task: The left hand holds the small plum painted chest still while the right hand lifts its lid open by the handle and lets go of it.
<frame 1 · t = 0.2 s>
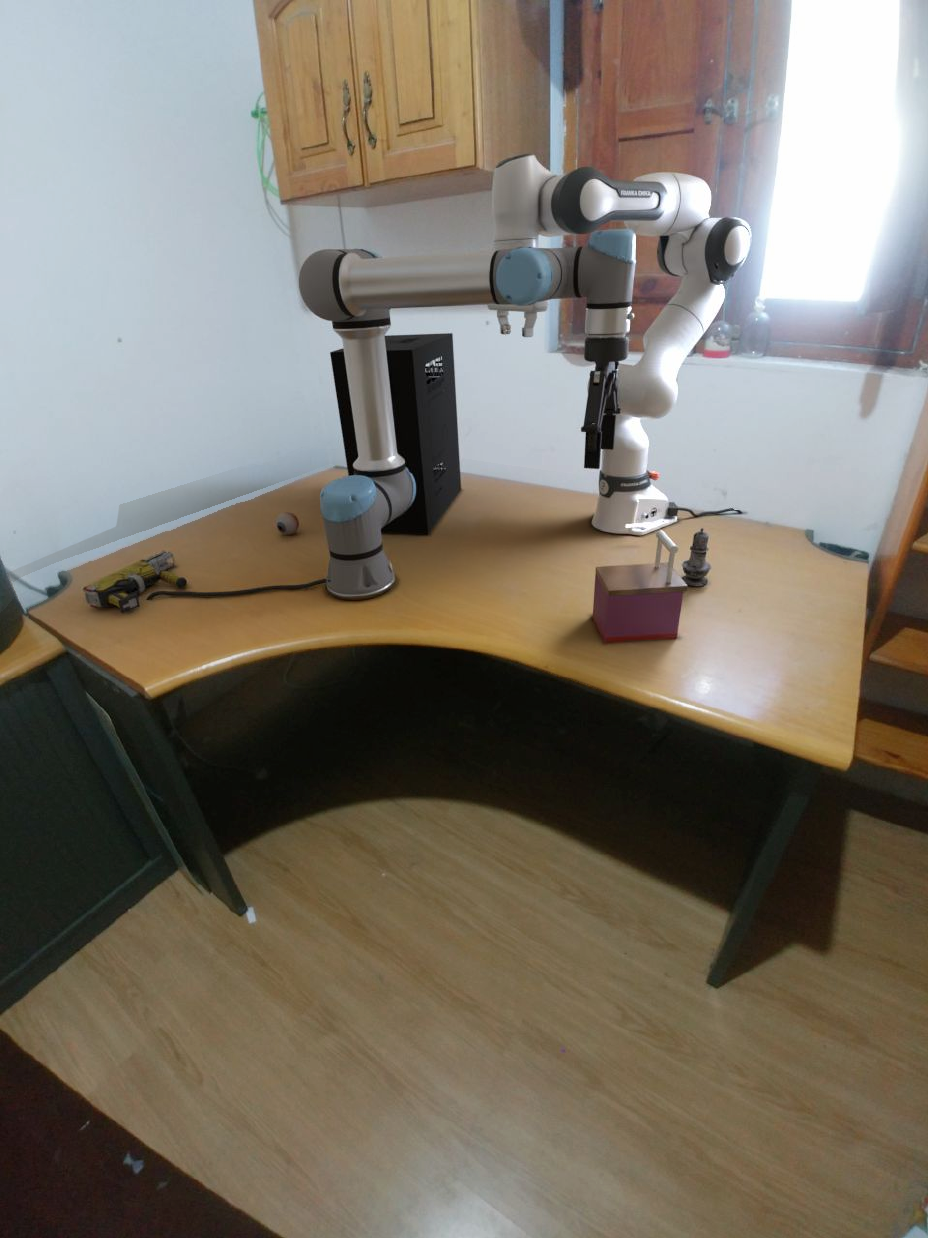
left hand: (599, 458, 115), 28 cm above the table, tool pointing down, fingers open, 13 cm apart
right hand: (516, 335, 125), 48 cm above the table, tool pointing down, fingers open, 8 cm apart
pewter chess piece: (694, 581, 129), on the table
chest: (633, 626, 114), on the table
eyeball: (289, 534, 165), on the table
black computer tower: (413, 509, 178), on the table
lid: (641, 560, 108), point 14 cm above the table, hinge at 0.0°
toy gun: (152, 590, 139), on the table
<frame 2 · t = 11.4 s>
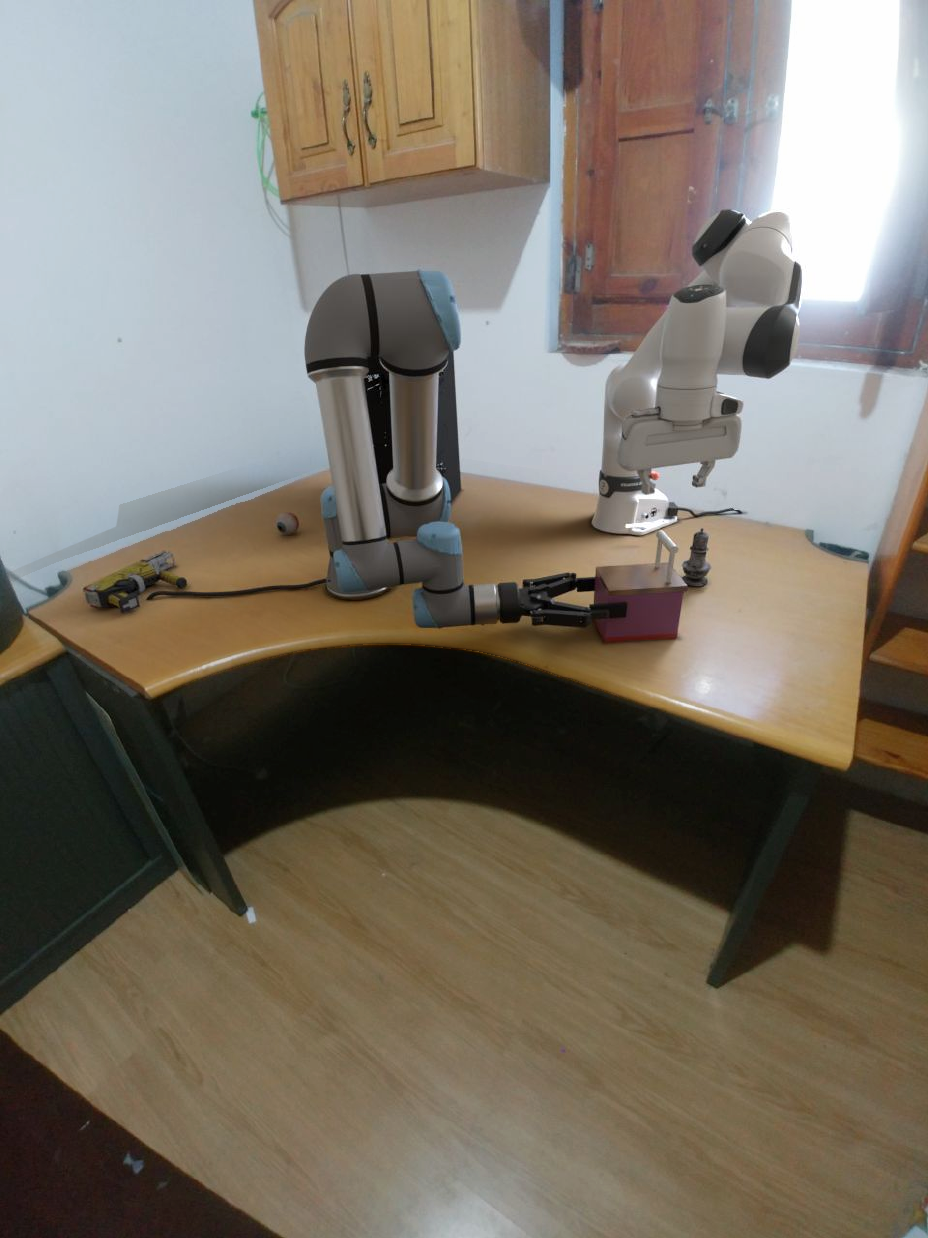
left hand: (618, 595, 111), 7 cm above the table, tool horizontal, fingers closed on chest, 10 cm apart
right hand: (673, 489, 101), 26 cm above the table, tool pointing down, fingers open, 8 cm apart
chest: (633, 626, 114), on the table, touching left hand
everything else where it was.
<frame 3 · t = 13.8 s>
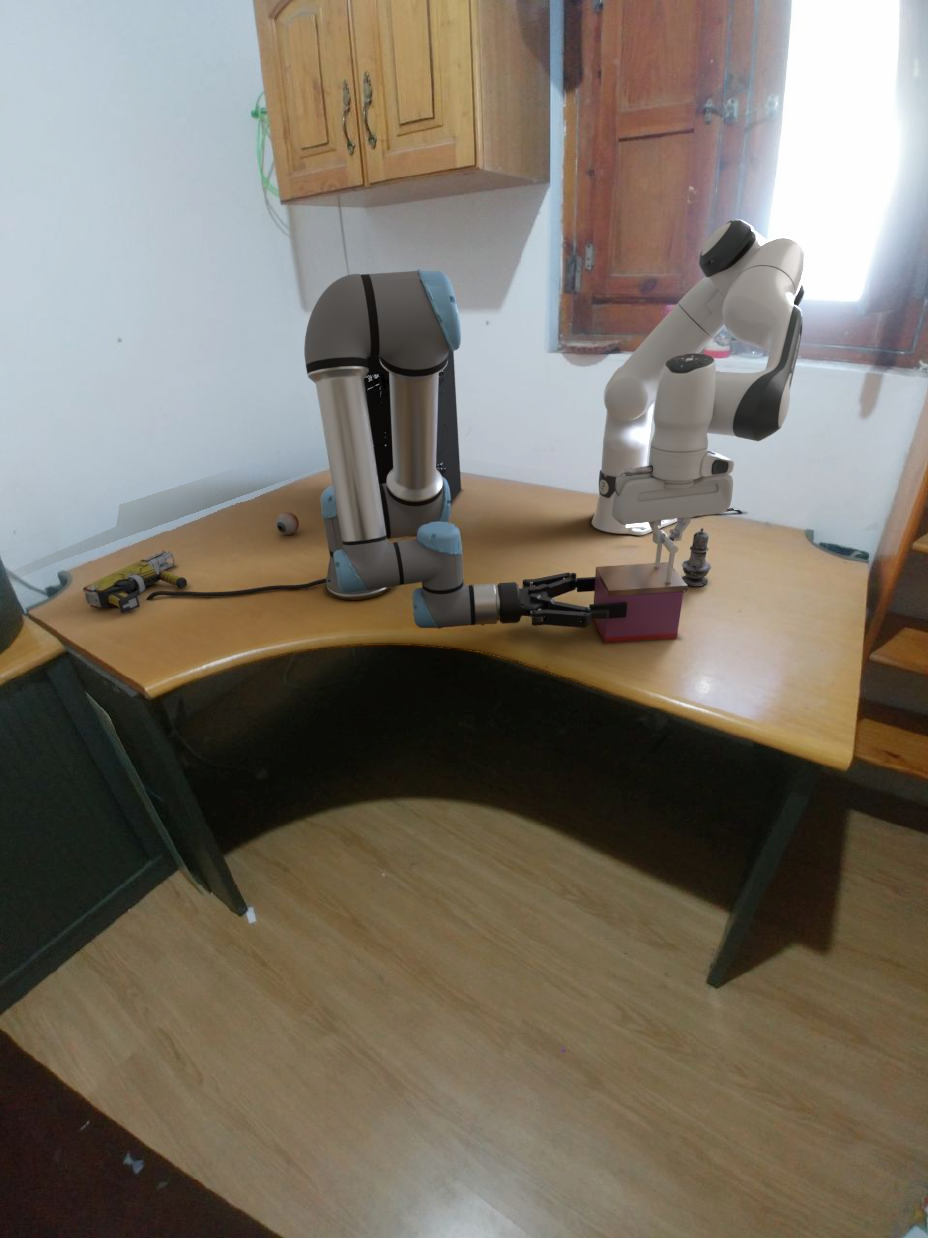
left hand: (618, 595, 111), 7 cm above the table, tool horizontal, fingers closed on chest, 10 cm apart
right hand: (666, 541, 106), 17 cm above the table, tool pointing down, fingers closed on lid, 2 cm apart
chest: (633, 626, 114), on the table, touching left hand
lid: (641, 560, 108), point 14 cm above the table, hinge at 0.2°, touching right hand
everything else where it was.
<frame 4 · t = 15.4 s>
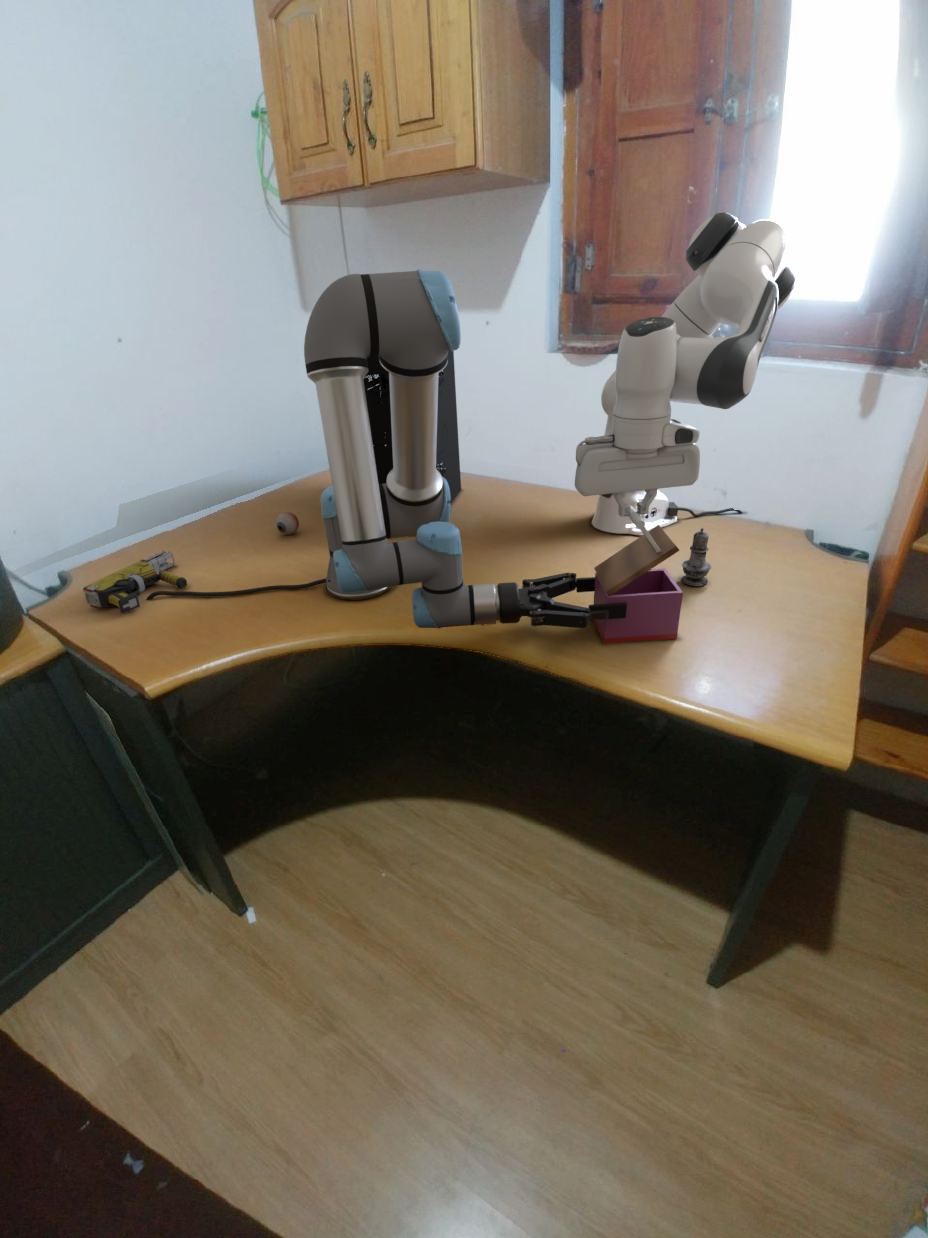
left hand: (618, 596, 111), 7 cm above the table, tool horizontal, fingers closed on chest, 10 cm apart
right hand: (633, 514, 103), 23 cm above the table, tool pointing down, fingers closed
chest: (633, 627, 114), on the table, touching left hand
lid: (624, 545, 106), point 17 cm above the table, hinge at 34.9°, touching right hand
everything else where it was.
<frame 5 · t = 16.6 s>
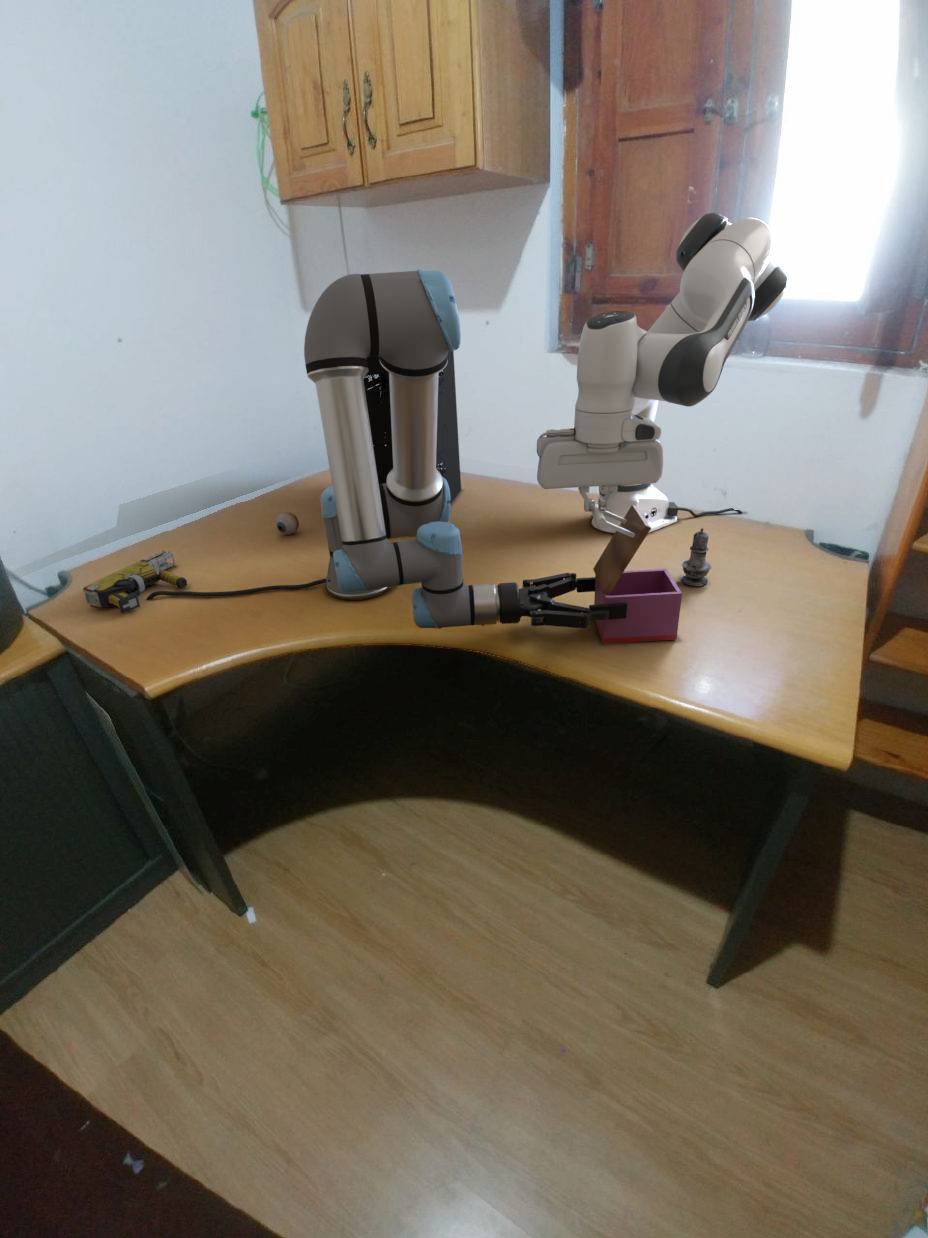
left hand: (618, 596, 111), 7 cm above the table, tool horizontal, fingers closed on chest, 10 cm apart
right hand: (596, 510, 102), 24 cm above the table, tool pointing down, fingers closed, pressing on lid
chest: (633, 627, 114), on the table, touching left hand
lid: (602, 542, 105), point 18 cm above the table, hinge at 62.3°, touching right hand
everything else where it was.
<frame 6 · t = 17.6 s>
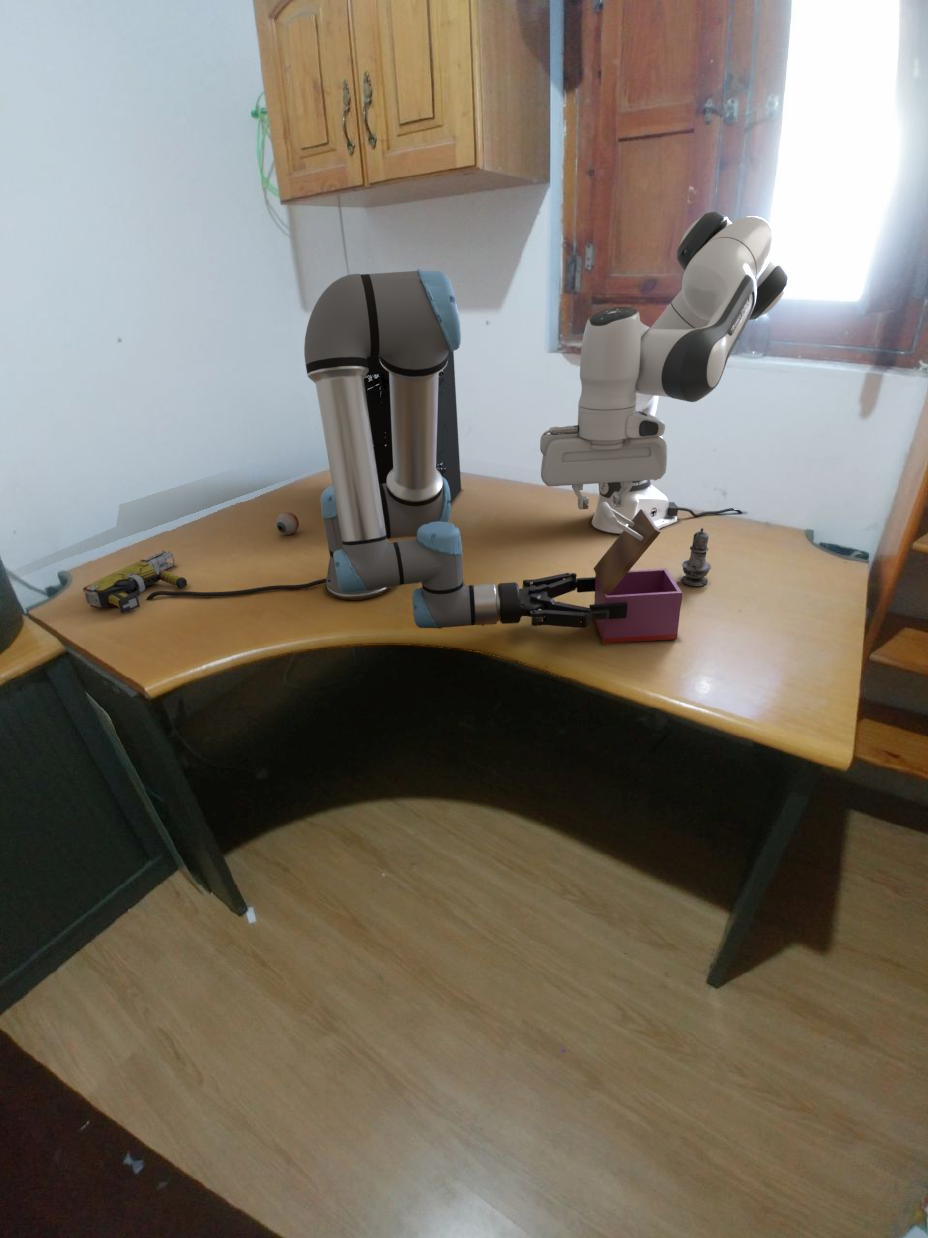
left hand: (618, 596, 111), 7 cm above the table, tool horizontal, fingers closed on chest, 10 cm apart
right hand: (600, 507, 102), 24 cm above the table, tool pointing down, fingers open, 5 cm apart
chest: (633, 627, 114), on the table, touching left hand
lid: (608, 541, 105), point 18 cm above the table, hinge at 54.4°
everything else where it was.
when the left hand's fingers open (7 cm above the table, at t = 20.8 s): chest stays where it is, on the table.
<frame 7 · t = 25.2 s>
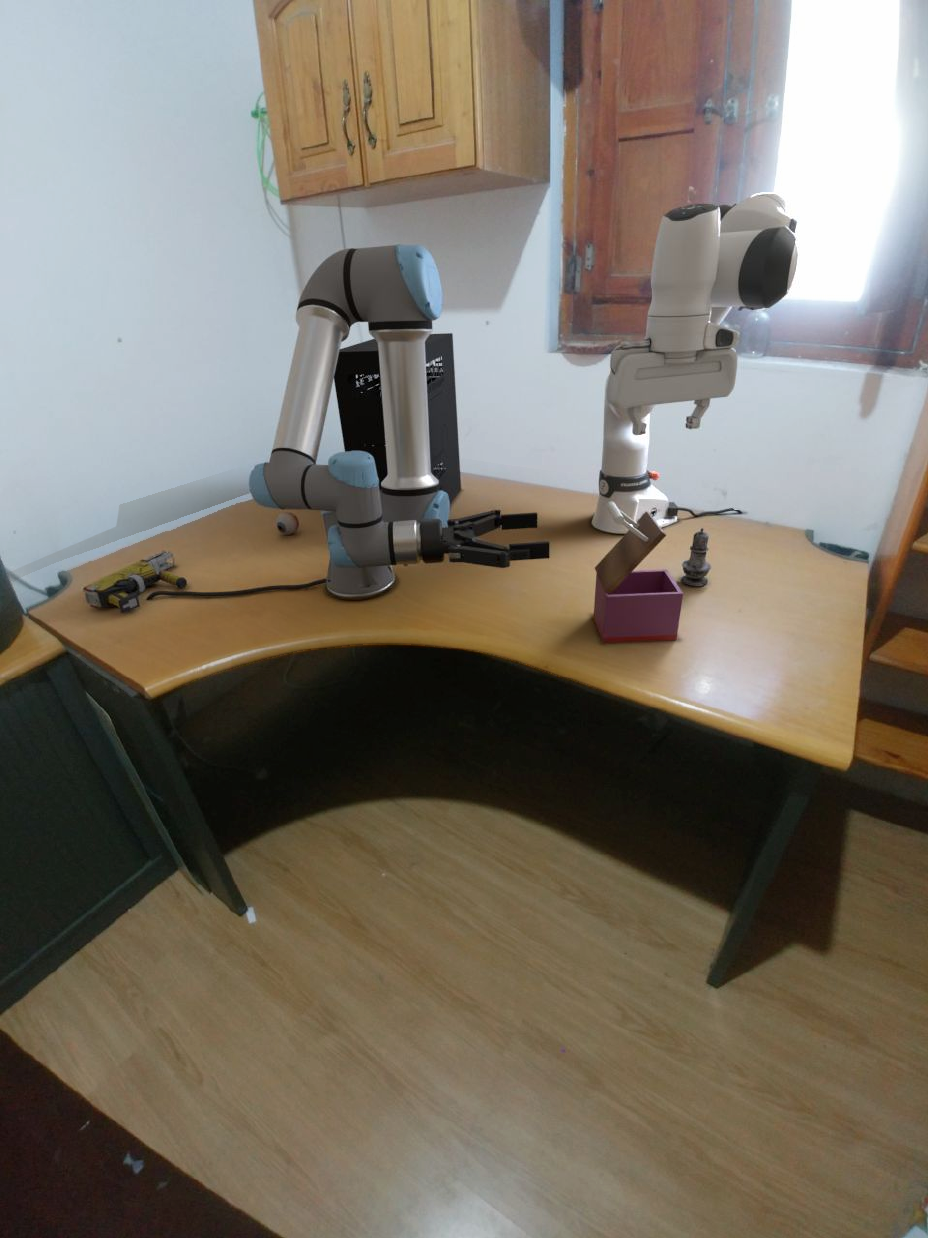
left hand: (543, 534, 104), 20 cm above the table, tool horizontal, fingers open, 13 cm apart
right hand: (665, 431, 96), 36 cm above the table, tool pointing down, fingers open, 8 cm apart
chest: (633, 627, 114), on the table
lid: (613, 541, 105), point 18 cm above the table, hinge at 51.4°
everything else where it was.
at the end: lid at +51° (first picture: +0°); the left hand is holding nothing; the right hand is holding nothing; chest tilted 0°; chest never tilted more than 2° during the clip; chest moved 0.3 cm from its start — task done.
